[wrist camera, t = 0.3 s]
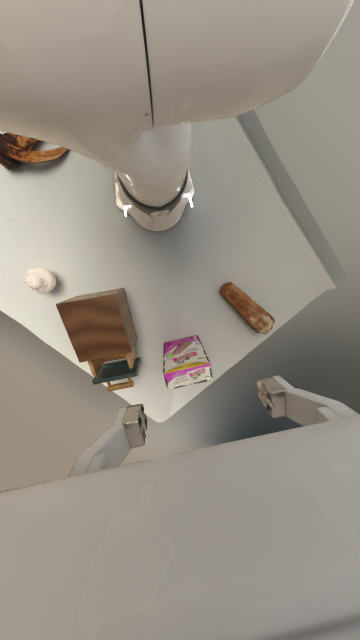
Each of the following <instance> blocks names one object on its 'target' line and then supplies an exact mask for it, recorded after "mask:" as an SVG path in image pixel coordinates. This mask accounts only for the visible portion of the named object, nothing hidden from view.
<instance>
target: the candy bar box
mask: <svg viewBox="0 0 360 640" xmlns="http://www.w3.org/2000/svg"><path fill="white" fill-rule="evenodd" d="M163 375H164V378H165V382H166V386H167V389H168V390H170V389H174V388H179V387H183V386H188V385H192V384H196V383H201V382H206V381H210V380H213V377H212V371H211V365H210V361H209V359H208V357H207V355H206V353H205V351H204V348H203V346H202V344H201V342H200V340H199V337H198V335H196V336H192V337H188V338H184V339H179V340H175V341H171V342H166V343H164V364H163Z"/></svg>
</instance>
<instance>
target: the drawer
mask: <svg viewBox="0 0 360 640" xmlns="http://www.w3.org/2000/svg"><path fill="white" fill-rule="evenodd" d="M136 355H137V354H136V351H135V347H133V350H132V353H127V354H121V355H116V356H111V357H106V358H100V359H95V360H90V361H88V364H89V366H90V369H91V371H92V374H93V376H95V377H94V379H93V380H92V382H93V384H99V383H104V382H107V384H108V391H113V390H118V389H123V388H129V387H133V386H134V383H133V381H131V377H134V376H137V375H138V370H139V366H140V362H141V359H140V357H139V358H136ZM122 358H127V360H124V361H118V362H113V363H108V364H103V363H104V362H106V361H112V360H117V359H122ZM124 378H128V380H129V382H124V383H119V384H114V385H111V384H110V381H114V380H119V379H124Z"/></svg>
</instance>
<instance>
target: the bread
mask: <svg viewBox="0 0 360 640" xmlns="http://www.w3.org/2000/svg"><path fill="white" fill-rule="evenodd" d="M220 293H221V294H222V295H223V296H224V297H225V298H226V299H227V300H228V301H229V302H230V304H231V305H232V306H233V307H234V308H235V309H236V310H237V311H238V312H239V313H240V315H241V316H242V317H243V318H244V319H245V320H246V321H247V322H248V323H249V324H250V325H251V327H252V328H253V329H254V330H255V331H256V332H257V333H262V334H267V333H268V332H269V331H270V330H271V329H272V327H273V323H274V322H275V320H274V318H273V317H272V316H271V315H270V314H269V313H268V312H266V311H265V310H264V309H263V308H261V307H260V306H259V305H258V304H257V303H256V302H255V301H253V300H252V299H251V298H250V297H249V296H247V295H246V294H245V293H244V292H242V291H241V290H240V289H239V288H237V287H236V286H235V285H234V284H233V283H231V282H229V283H225V284H224V285H223V286H222V287H221V292H220Z"/></svg>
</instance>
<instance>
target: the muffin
mask: <svg viewBox="0 0 360 640" xmlns="http://www.w3.org/2000/svg"><path fill="white" fill-rule="evenodd" d="M25 280H26V281H25V282H26V283H27V285H28V286H29V287H30V288H31V289H33V290H34V291H36V292H39V293H48V292H50V291H52V290H53V288H54V287H55V285H56V278H55V276H54V275H53V274H52V273H51V272H50V271H48V270H46V269H44V268H40V267H35V268H32V269H30V270H29V271H28V272H27V274H26V278H25Z"/></svg>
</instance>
